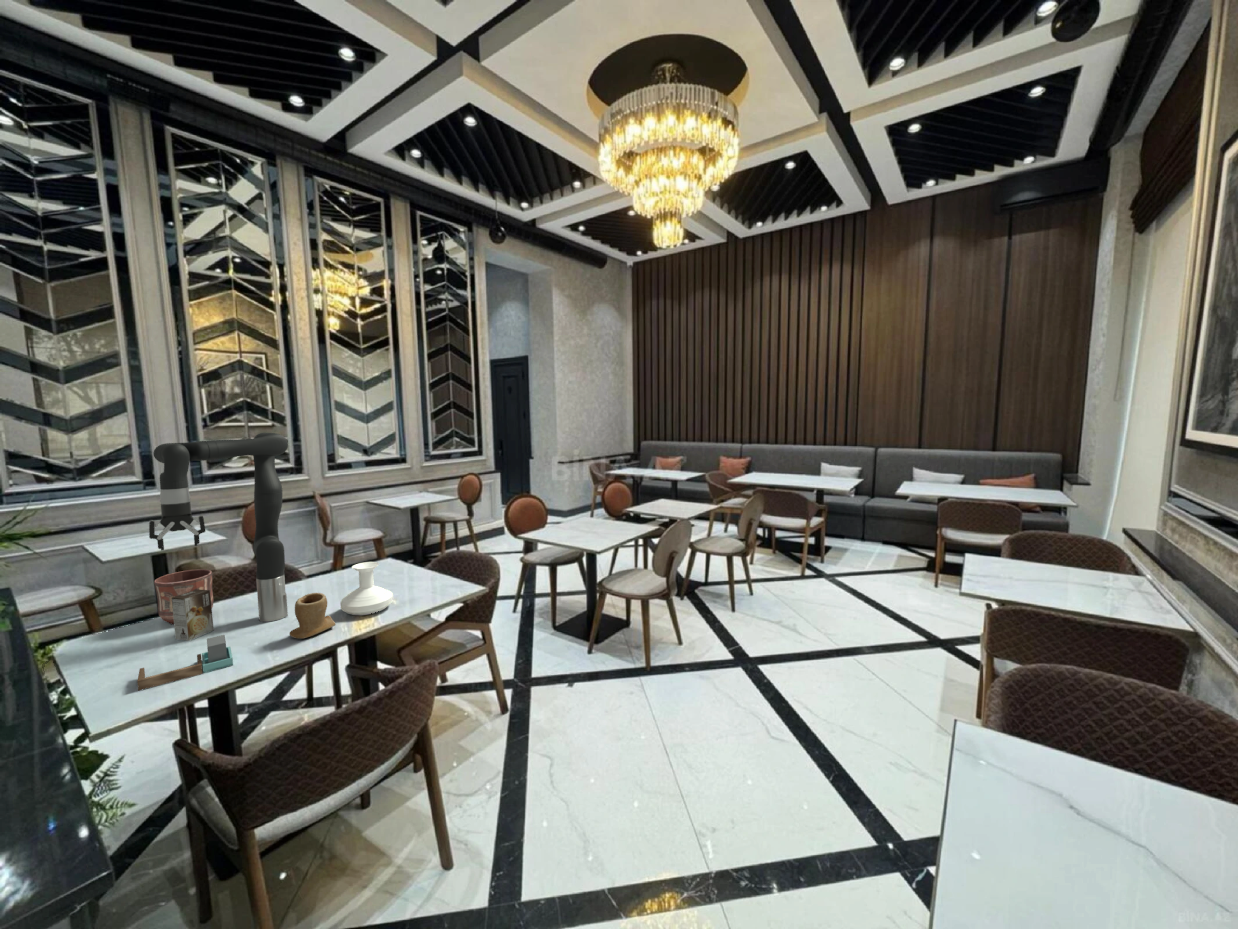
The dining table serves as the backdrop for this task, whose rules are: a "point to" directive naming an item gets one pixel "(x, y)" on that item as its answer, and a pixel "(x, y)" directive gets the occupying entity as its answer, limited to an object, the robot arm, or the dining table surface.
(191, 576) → the pottery
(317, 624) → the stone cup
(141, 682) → the walnut bay
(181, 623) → the coffee box
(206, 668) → the teal tray
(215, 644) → the chamfered grey block
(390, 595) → the white vase
